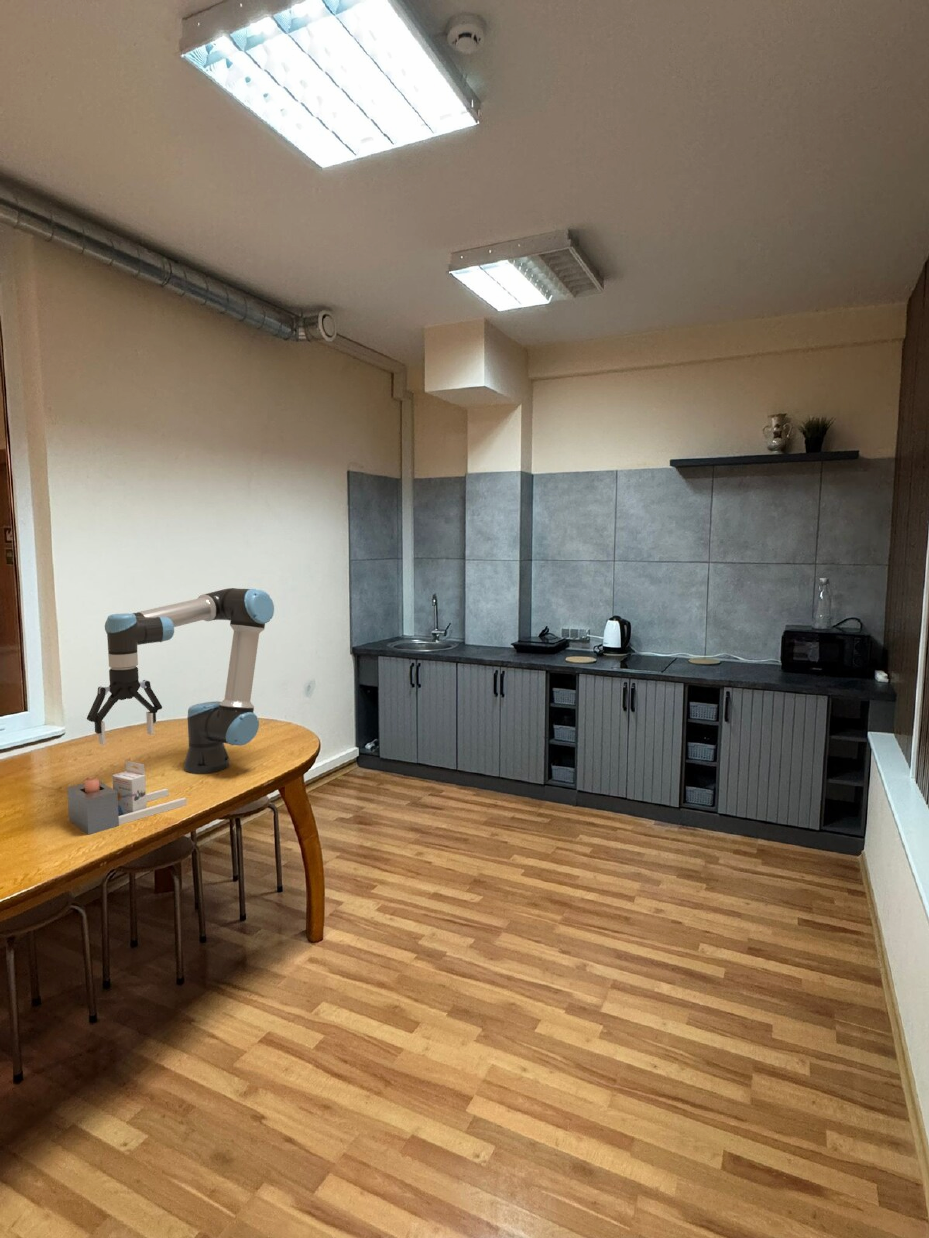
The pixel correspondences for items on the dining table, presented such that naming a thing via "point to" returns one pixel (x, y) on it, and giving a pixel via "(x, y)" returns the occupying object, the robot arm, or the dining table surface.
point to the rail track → (153, 807)
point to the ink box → (130, 788)
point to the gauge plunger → (91, 785)
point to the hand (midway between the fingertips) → (127, 738)
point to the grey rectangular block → (93, 808)
